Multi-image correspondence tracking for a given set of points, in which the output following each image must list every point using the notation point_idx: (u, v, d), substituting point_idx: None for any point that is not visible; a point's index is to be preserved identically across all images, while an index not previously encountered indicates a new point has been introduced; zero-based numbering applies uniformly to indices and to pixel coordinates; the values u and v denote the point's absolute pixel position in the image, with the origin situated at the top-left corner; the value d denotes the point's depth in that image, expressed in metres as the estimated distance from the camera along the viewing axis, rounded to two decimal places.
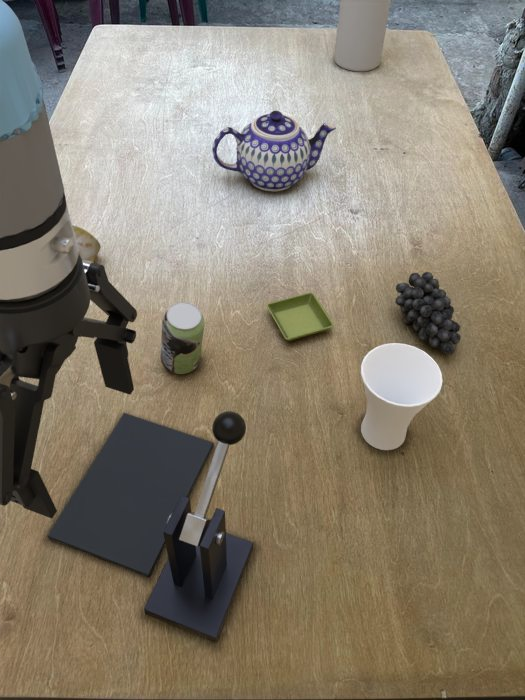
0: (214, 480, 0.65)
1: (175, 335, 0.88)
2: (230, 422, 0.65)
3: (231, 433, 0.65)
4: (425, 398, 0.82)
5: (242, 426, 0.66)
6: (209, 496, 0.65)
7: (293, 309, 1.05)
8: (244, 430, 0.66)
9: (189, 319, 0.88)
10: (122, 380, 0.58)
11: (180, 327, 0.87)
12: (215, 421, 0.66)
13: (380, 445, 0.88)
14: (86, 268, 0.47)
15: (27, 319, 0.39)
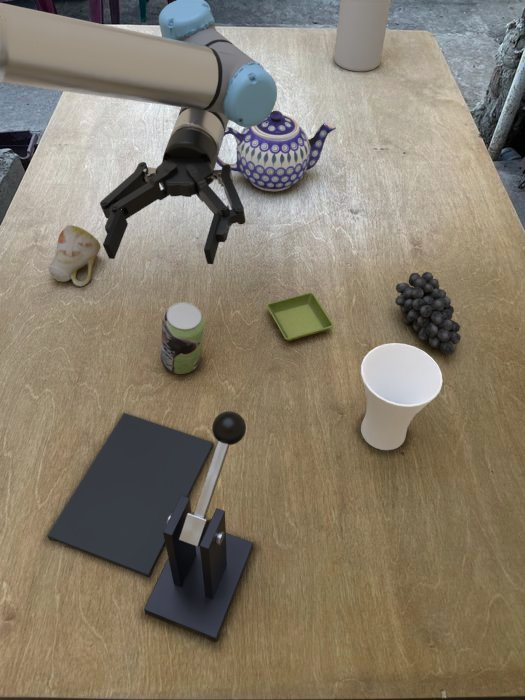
0: (214, 480, 0.65)
1: (175, 335, 0.88)
2: (230, 422, 0.65)
3: (231, 433, 0.65)
4: (425, 398, 0.82)
5: (242, 426, 0.66)
6: (209, 496, 0.65)
7: (293, 309, 1.05)
8: (244, 430, 0.66)
9: (189, 319, 0.88)
10: (117, 245, 0.84)
11: (180, 327, 0.87)
12: (215, 421, 0.66)
13: (380, 445, 0.88)
14: None
15: None
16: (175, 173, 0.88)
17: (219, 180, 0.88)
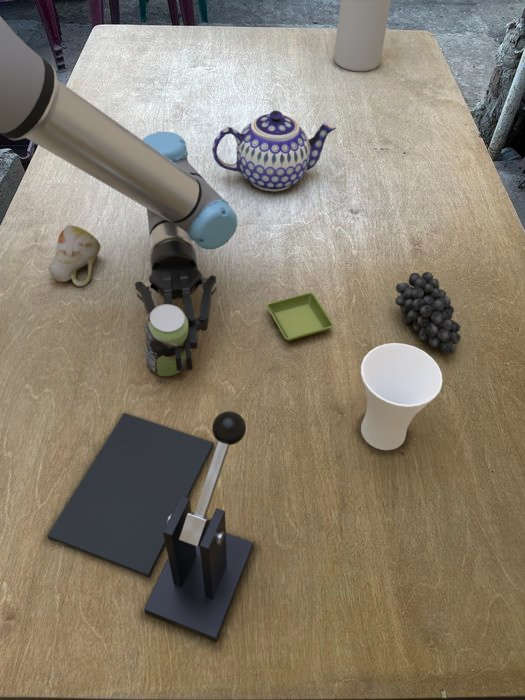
0: (214, 480, 0.65)
1: (156, 337, 0.87)
2: (230, 422, 0.65)
3: (231, 433, 0.65)
4: (425, 398, 0.82)
5: (242, 426, 0.66)
6: (209, 496, 0.65)
7: (293, 309, 1.05)
8: (244, 430, 0.66)
9: (172, 322, 0.87)
10: None
11: (161, 329, 0.86)
12: (215, 421, 0.66)
13: (380, 445, 0.88)
14: None
15: None
16: (171, 278, 0.99)
17: (202, 286, 0.99)
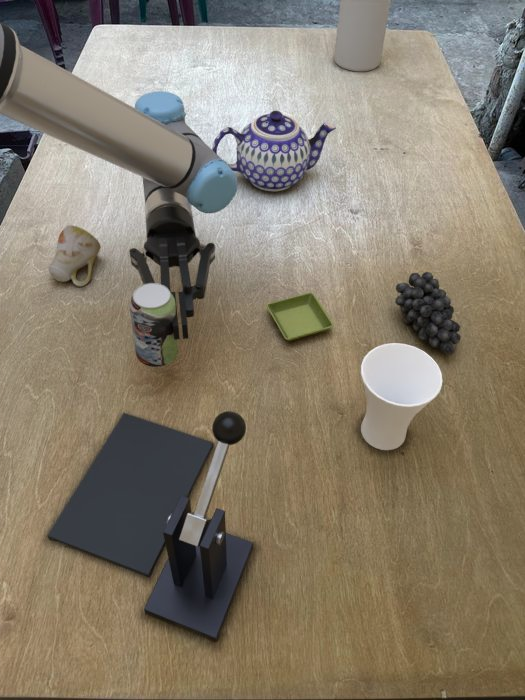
0: (214, 480, 0.65)
1: (158, 316, 0.81)
2: (230, 422, 0.65)
3: (231, 433, 0.65)
4: (425, 398, 0.82)
5: (242, 426, 0.66)
6: (209, 496, 0.65)
7: (293, 309, 1.05)
8: (244, 430, 0.66)
9: (159, 295, 0.82)
10: None
11: (158, 305, 0.81)
12: (215, 421, 0.66)
13: (380, 445, 0.88)
14: None
15: None
16: (168, 244, 0.94)
17: (200, 254, 0.94)
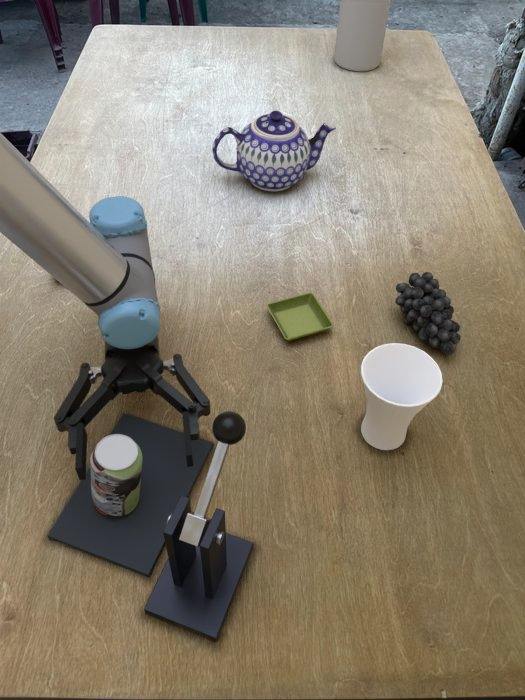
0: (214, 480, 0.65)
1: (124, 477, 0.72)
2: (230, 422, 0.65)
3: (231, 433, 0.65)
4: (425, 398, 0.82)
5: (242, 426, 0.66)
6: (209, 496, 0.65)
7: (293, 309, 1.05)
8: (244, 430, 0.66)
9: (125, 451, 0.73)
10: (85, 462, 0.77)
11: (125, 466, 0.72)
12: (215, 421, 0.66)
13: (380, 445, 0.88)
14: None
15: None
16: (125, 370, 0.84)
17: (172, 371, 0.86)
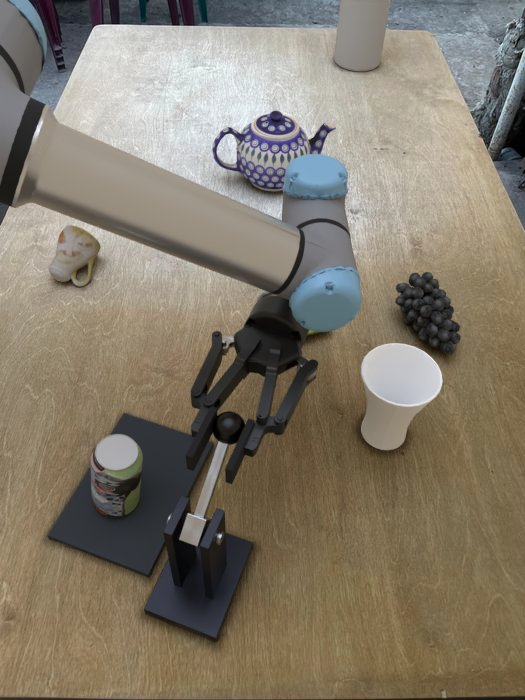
0: (214, 480, 0.65)
1: (125, 477, 0.72)
2: (230, 422, 0.65)
3: (231, 433, 0.65)
4: (425, 398, 0.82)
5: (242, 426, 0.66)
6: (209, 496, 0.65)
7: None
8: None
9: (125, 451, 0.73)
10: (201, 452, 0.66)
11: (125, 466, 0.72)
12: (215, 421, 0.66)
13: (380, 445, 0.88)
14: None
15: None
16: (260, 345, 0.73)
17: (297, 371, 0.72)
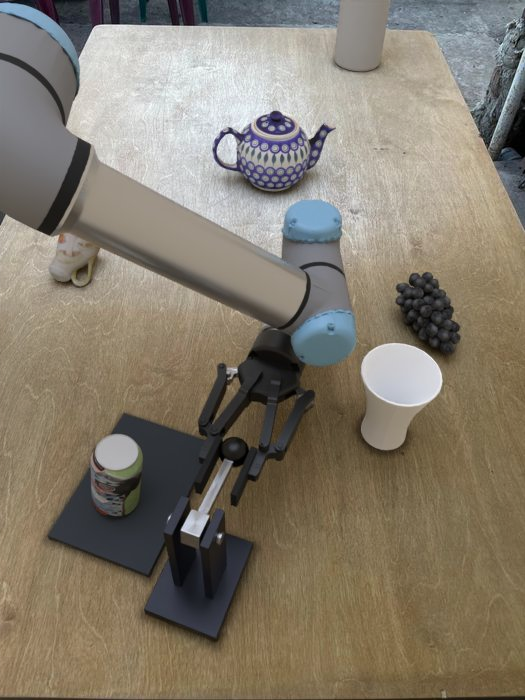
0: (218, 487, 0.68)
1: (125, 477, 0.72)
2: (238, 440, 0.72)
3: (239, 449, 0.71)
4: (425, 398, 0.82)
5: (248, 447, 0.72)
6: (212, 500, 0.67)
7: None
8: None
9: (125, 451, 0.73)
10: (208, 478, 0.72)
11: (125, 466, 0.72)
12: (224, 441, 0.73)
13: (380, 445, 0.88)
14: None
15: None
16: (261, 376, 0.79)
17: (295, 400, 0.78)
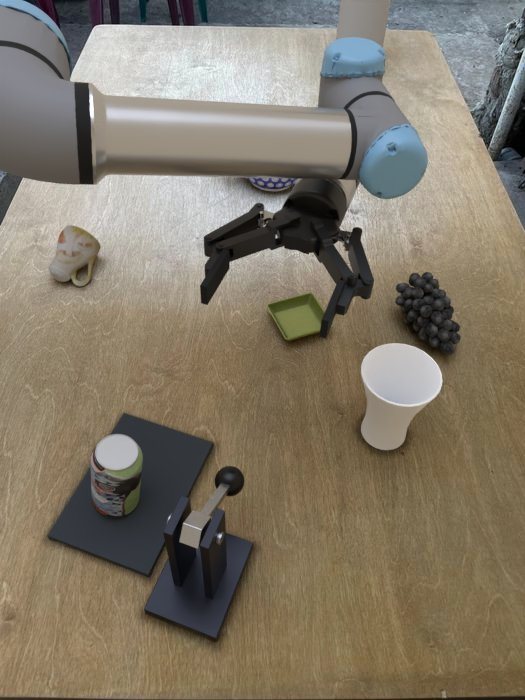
0: (217, 501, 0.70)
1: (125, 477, 0.72)
2: None
3: (236, 474, 0.74)
4: (425, 398, 0.82)
5: (243, 476, 0.75)
6: (212, 509, 0.68)
7: (293, 309, 1.05)
8: None
9: (125, 451, 0.73)
10: (214, 289, 0.69)
11: (125, 466, 0.72)
12: (221, 469, 0.75)
13: (380, 445, 0.88)
14: None
15: None
16: (296, 224, 0.74)
17: (346, 243, 0.74)
